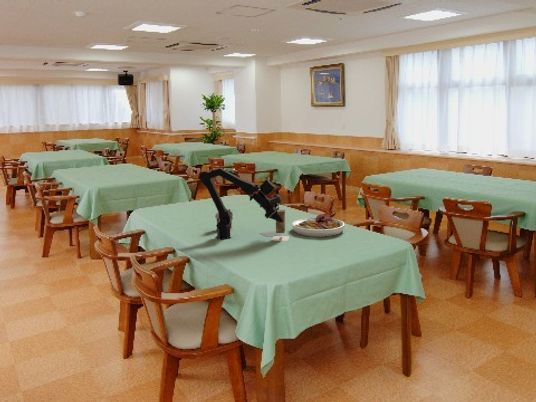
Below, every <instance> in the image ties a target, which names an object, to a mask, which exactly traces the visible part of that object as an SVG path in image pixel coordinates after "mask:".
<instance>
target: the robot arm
mask: <svg viewBox="0 0 536 402" xmlns="http://www.w3.org/2000/svg"><path fill="white" fill-rule="evenodd" d="M217 177H221V178H223V179H225V180H226V181H228V182H230V183H232V184H234V185H235V186H237V187H239V188H240V190H242V191H243V192H244V193H245V194H247V195H249V201H250V202H251V201H253V200H254V201H255V202H256V203H257V205H259V208H262V209H263V210H264V212H265V214H264V218H266V219H271V220H274V221H275V222H276V221H279V222H281V223H282V222H283V220H282V219H281V217H280V216H279V215H278V213H277V210H280V204H279V203H281V202H282V201H283V199H282V197H281V195H280V194H274V195H273V197H272V198H270V197H267V195H268V196H269V195H270V194H271V193H272V192H273V191H274V190H275V189H276V187H277V186H276V185H275V184H274V183H273V182H272V181H270V180H268V178H266V179H265V180H264V181H263V183H262V184H261V185H260V184H255V183H254V182H253V181H250V180H247V179H242V178H240V177H239V176H237V175H235V174H233V173H231V172H230V171H228V170H226V169H225V168H223V167H218V168H216V169H212V170H210V169H209V170H208V169H207V170H203V171H201V172H200V173H199V176H198V178H199V181H200V182H201V183H202V185H204V187H205V188H206V189H207V191H208V194H209V195H210V197H211V199H212V202H213V204H214V206H215V207H216V210H217V213H218V214H219V219H220V222H219V223H218V224H217V223H216V225H215V226H216V236H215V238H217V239H219V240H226V239H231V238H232V237H231V229H229V226H228V225H229V224H230V223H231V221H232V222H233V215H234V214H233V215H232V213H233V212H232V211H231V209H230V208H229V209H227V207H226V206H225V204H224V202H223V200H222V197H221V195H220V193H219V191H218V189H217V188H216V185H215V179H214V178H217ZM231 212H232V213H231Z"/></svg>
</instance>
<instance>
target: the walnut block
mask: <svg viewBox="0 0 536 402" xmlns="http://www.w3.org/2000/svg"><path fill="white" fill-rule="evenodd" d="M277 213H278V215H279V216H280V217H281V219H282V220H283V222H282V223H281V222H279V221H276V220H275V232H276V233H279V234H285V232H286V209H279V210H277Z"/></svg>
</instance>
